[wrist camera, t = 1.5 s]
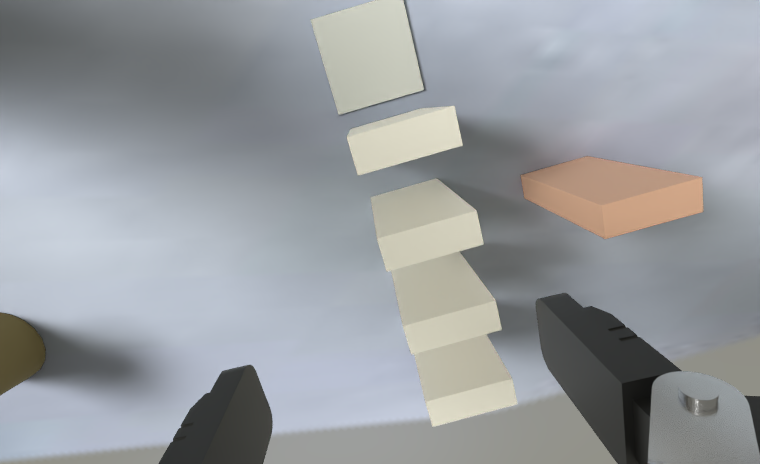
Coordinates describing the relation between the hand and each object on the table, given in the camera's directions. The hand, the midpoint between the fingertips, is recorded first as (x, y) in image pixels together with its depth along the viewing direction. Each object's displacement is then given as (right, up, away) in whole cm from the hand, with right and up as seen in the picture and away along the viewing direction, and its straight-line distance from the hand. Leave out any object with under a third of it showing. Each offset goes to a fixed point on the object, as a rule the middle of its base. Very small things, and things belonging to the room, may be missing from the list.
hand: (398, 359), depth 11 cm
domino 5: (+12, +8, +18) cm, 23 cm away
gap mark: (-1, +15, +15) cm, 21 cm away
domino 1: (0, +11, +16) cm, 20 cm away
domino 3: (+3, +1, +19) cm, 20 cm away
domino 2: (+1, +6, +18) cm, 19 cm away
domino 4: (+4, -3, +21) cm, 21 cm away
